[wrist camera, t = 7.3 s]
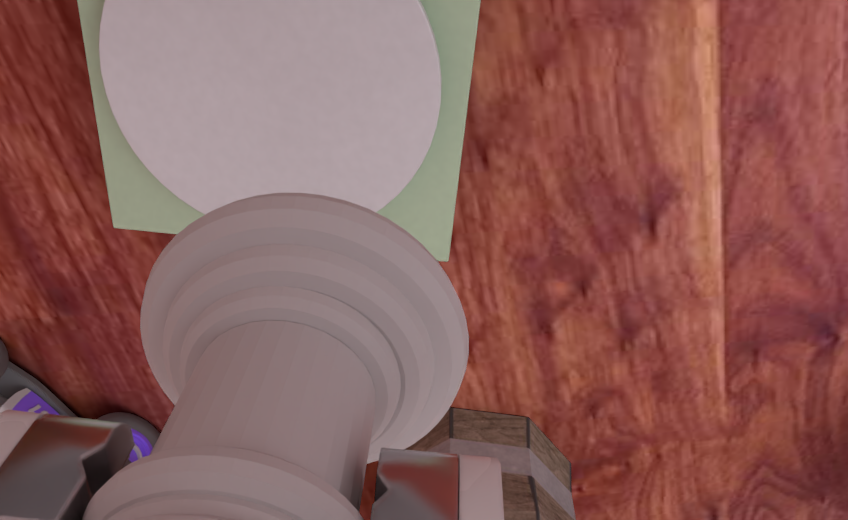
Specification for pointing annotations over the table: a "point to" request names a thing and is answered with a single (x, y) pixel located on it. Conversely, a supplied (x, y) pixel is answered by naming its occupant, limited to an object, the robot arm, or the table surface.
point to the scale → (281, 105)
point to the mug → (509, 460)
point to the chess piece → (288, 361)
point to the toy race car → (22, 392)
